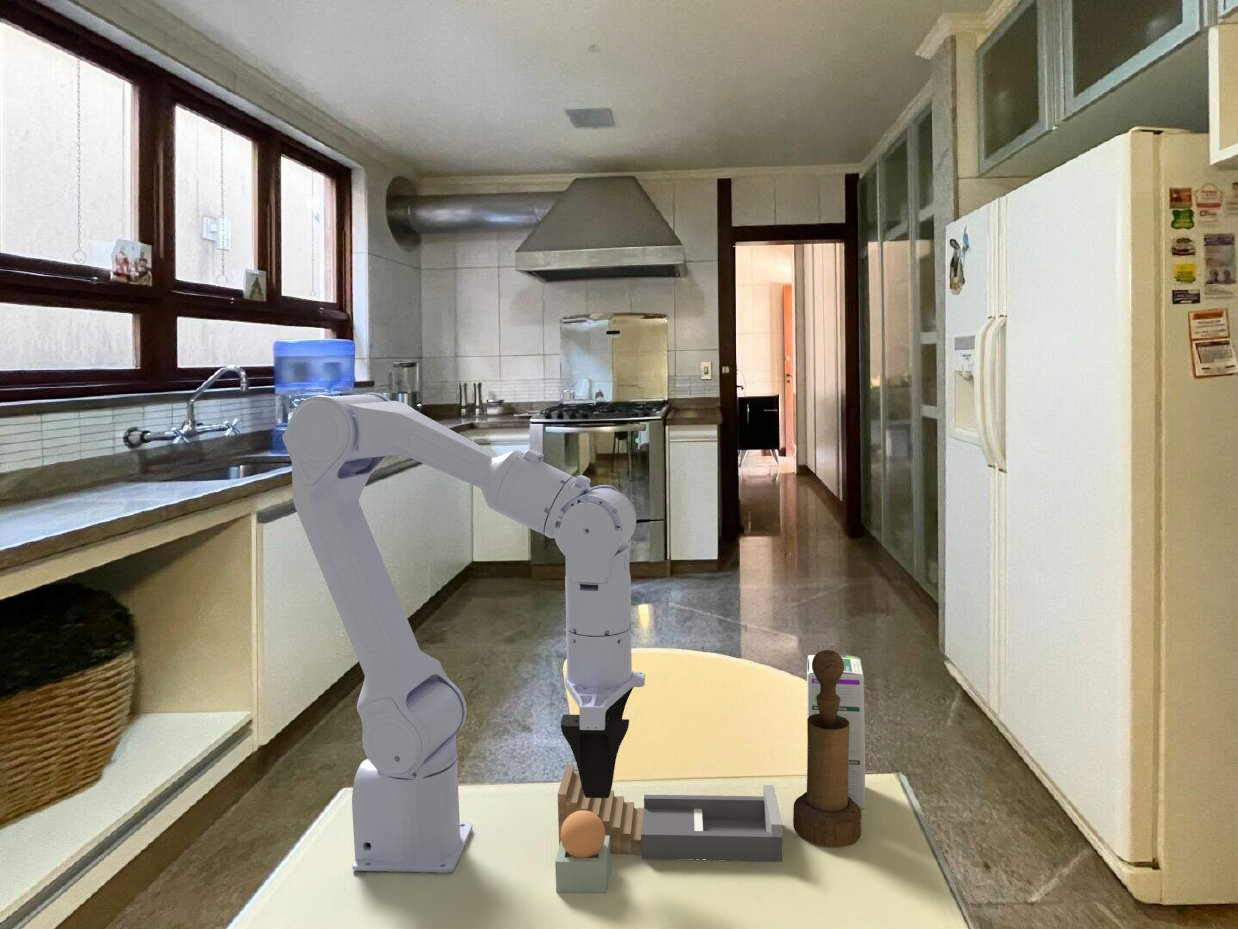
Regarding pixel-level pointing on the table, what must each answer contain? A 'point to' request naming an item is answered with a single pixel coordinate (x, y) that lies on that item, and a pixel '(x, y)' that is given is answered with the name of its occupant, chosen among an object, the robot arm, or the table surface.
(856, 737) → the syrup box
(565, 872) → the hollow square container
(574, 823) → the ball
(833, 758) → the mortar and pestle
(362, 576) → the robot arm
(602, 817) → the staircase
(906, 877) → the table surface
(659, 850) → the lane
